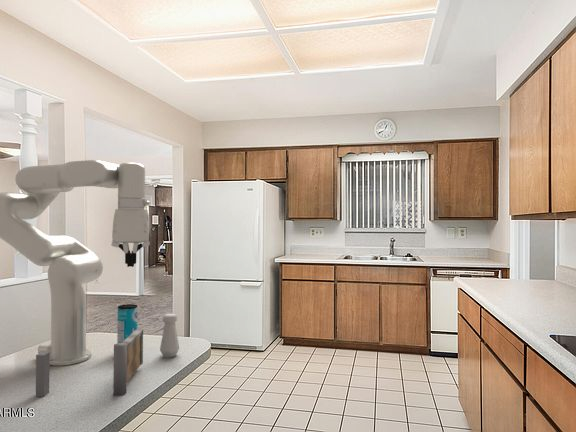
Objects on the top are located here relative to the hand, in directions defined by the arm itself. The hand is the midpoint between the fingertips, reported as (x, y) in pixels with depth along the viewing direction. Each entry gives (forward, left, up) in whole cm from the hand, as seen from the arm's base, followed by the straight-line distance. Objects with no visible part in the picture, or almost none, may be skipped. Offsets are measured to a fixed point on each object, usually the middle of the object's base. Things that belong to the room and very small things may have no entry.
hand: (130, 266), depth 124 cm
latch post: (-14, -21, -29) cm, 39 cm away
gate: (+4, -12, -27) cm, 30 cm away
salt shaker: (+10, +7, -29) cm, 32 cm away
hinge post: (+4, -21, -29) cm, 36 cm away
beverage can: (-4, +10, -29) cm, 31 cm away
